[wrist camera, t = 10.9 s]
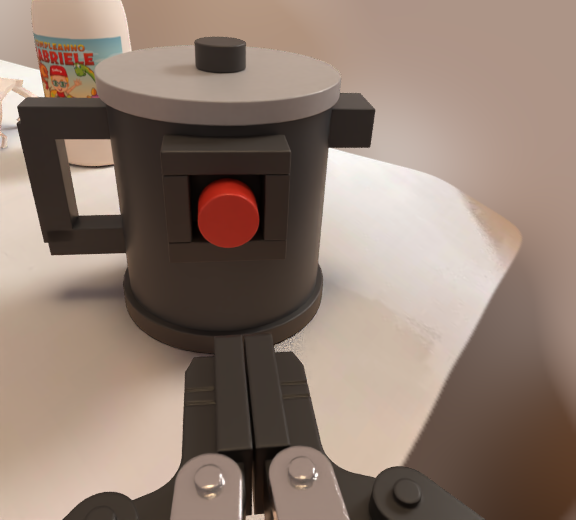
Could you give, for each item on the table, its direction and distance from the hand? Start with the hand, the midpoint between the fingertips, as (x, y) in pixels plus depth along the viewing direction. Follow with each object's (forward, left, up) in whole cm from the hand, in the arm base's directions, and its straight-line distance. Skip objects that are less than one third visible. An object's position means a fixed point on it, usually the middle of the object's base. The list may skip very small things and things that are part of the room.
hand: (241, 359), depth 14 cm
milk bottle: (+14, -38, -9) cm, 42 cm away
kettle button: (+1, -9, -1) cm, 9 cm away
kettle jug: (+2, -15, -9) cm, 18 cm away
